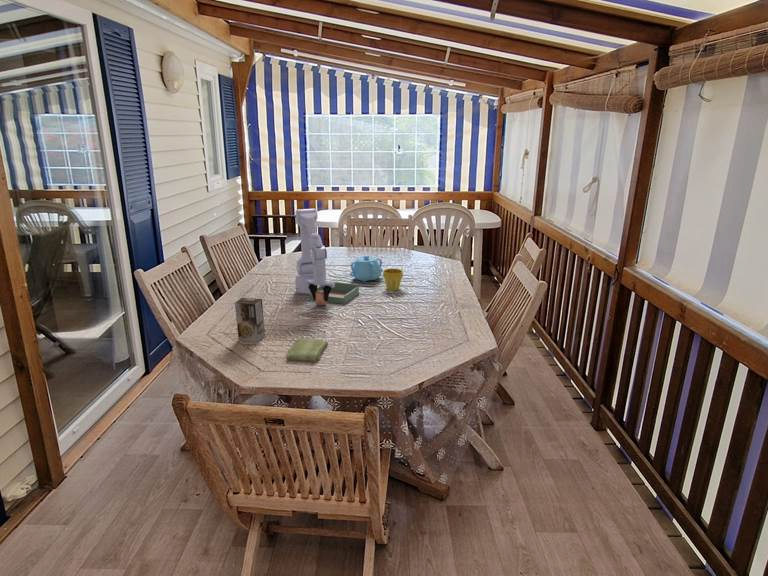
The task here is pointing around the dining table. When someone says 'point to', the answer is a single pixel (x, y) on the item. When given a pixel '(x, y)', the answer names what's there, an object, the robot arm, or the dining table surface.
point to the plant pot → (392, 278)
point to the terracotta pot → (320, 298)
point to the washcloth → (306, 350)
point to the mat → (320, 306)
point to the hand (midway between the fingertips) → (320, 300)
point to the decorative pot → (366, 268)
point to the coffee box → (250, 319)
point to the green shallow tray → (340, 292)
